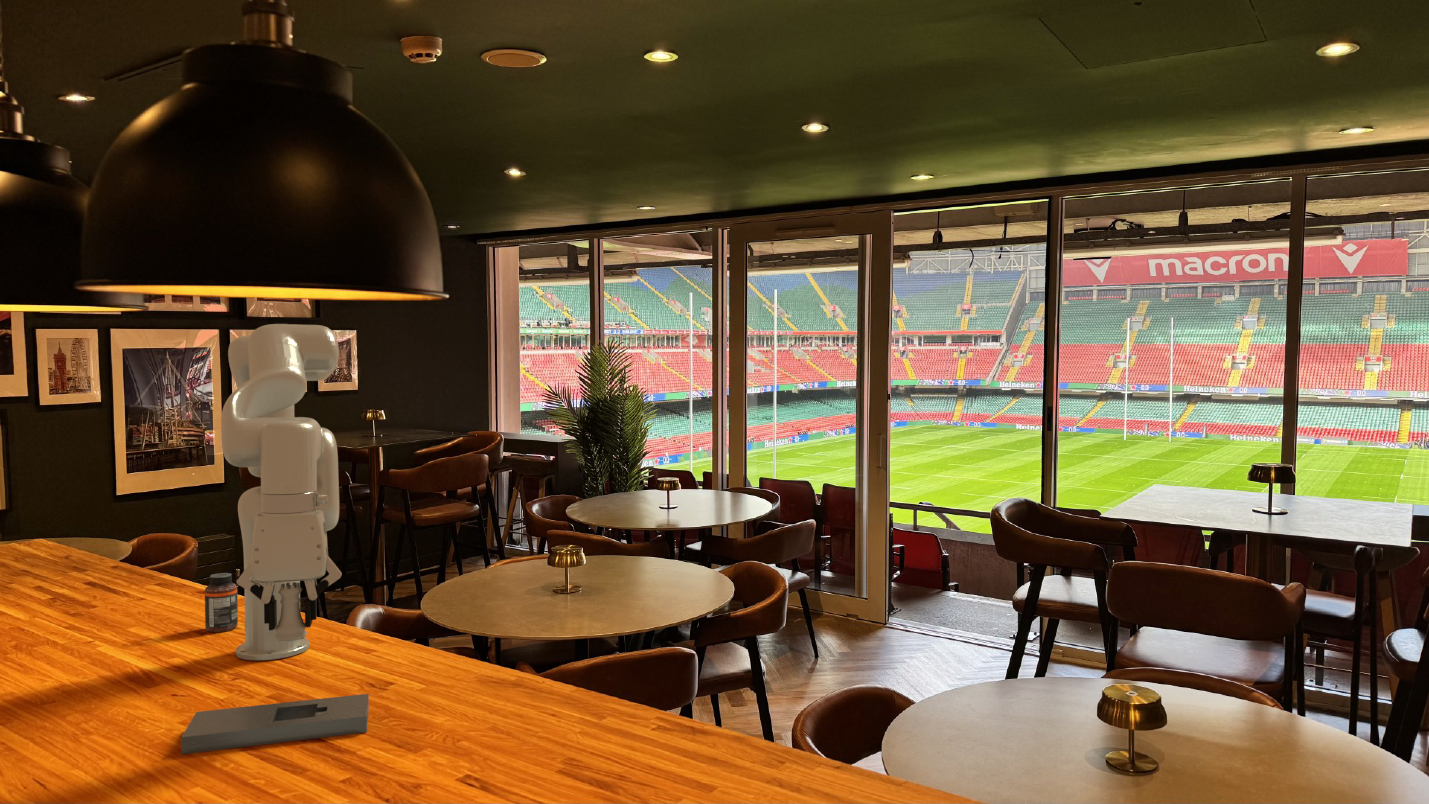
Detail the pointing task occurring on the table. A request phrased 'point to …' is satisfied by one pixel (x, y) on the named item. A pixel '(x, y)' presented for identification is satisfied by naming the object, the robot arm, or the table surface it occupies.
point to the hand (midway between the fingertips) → (290, 625)
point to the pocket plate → (276, 723)
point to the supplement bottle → (221, 603)
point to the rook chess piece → (290, 614)
